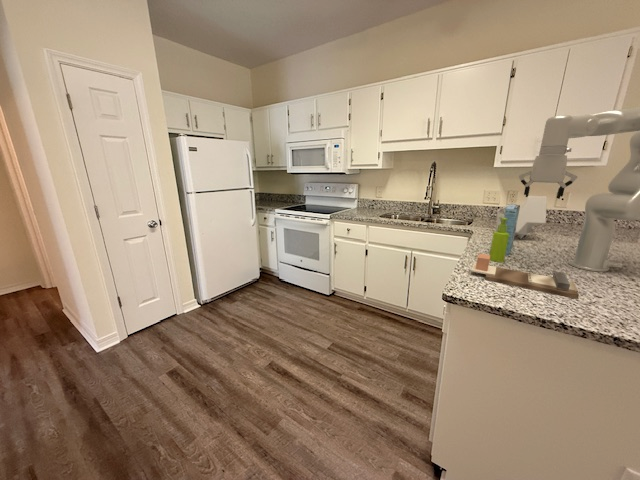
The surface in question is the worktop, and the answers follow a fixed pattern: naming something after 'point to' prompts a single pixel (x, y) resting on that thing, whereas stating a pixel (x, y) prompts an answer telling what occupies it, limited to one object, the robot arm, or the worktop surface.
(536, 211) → the white box
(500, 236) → the soap dispenser
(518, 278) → the ticket board
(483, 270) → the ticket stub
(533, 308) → the worktop surface
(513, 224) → the light blue box
